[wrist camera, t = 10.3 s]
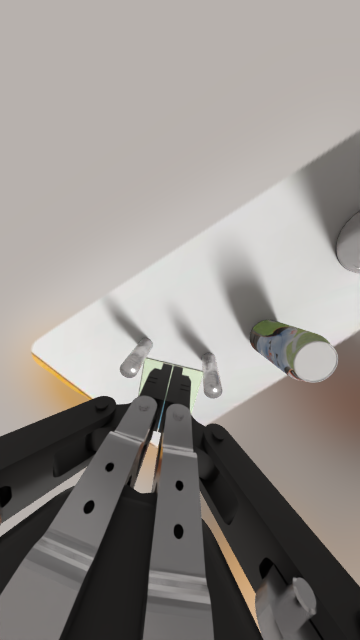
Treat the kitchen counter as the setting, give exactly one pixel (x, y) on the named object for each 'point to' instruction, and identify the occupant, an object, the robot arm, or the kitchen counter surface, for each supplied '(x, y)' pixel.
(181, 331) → the kitchen counter surface
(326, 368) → the beverage can
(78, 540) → the robot arm
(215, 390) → the post
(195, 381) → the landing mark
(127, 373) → the post
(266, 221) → the kitchen counter surface
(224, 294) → the kitchen counter surface
